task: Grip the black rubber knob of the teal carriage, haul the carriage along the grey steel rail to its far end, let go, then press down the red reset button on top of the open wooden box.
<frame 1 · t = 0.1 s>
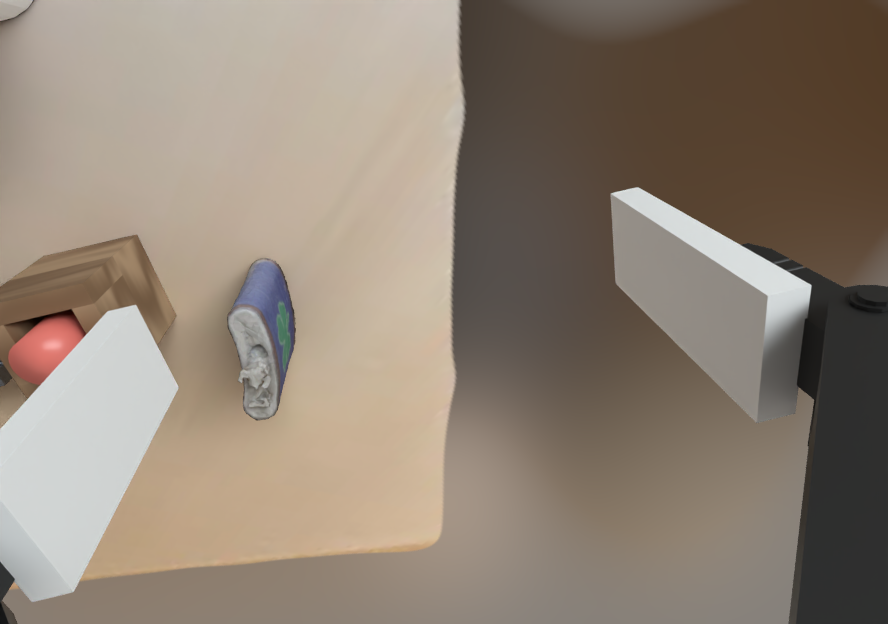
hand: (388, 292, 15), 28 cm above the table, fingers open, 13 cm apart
open wooden box: (112, 287, 43), on the table
reset button: (57, 343, 35), point 9 cm above the table, slide at 0.0 cm
flask: (275, 308, 46), on the table
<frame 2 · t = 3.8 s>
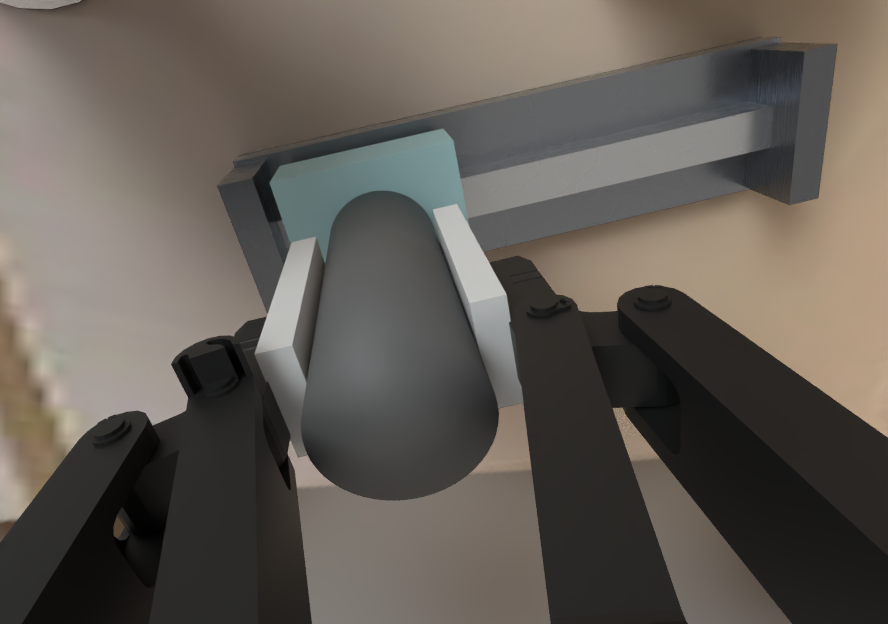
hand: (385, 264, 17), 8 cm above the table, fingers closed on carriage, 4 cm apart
rail track: (513, 167, 24), on the table
carriage: (387, 281, 16), point 9 cm above the table, slide at -6.0 cm, touching gripper
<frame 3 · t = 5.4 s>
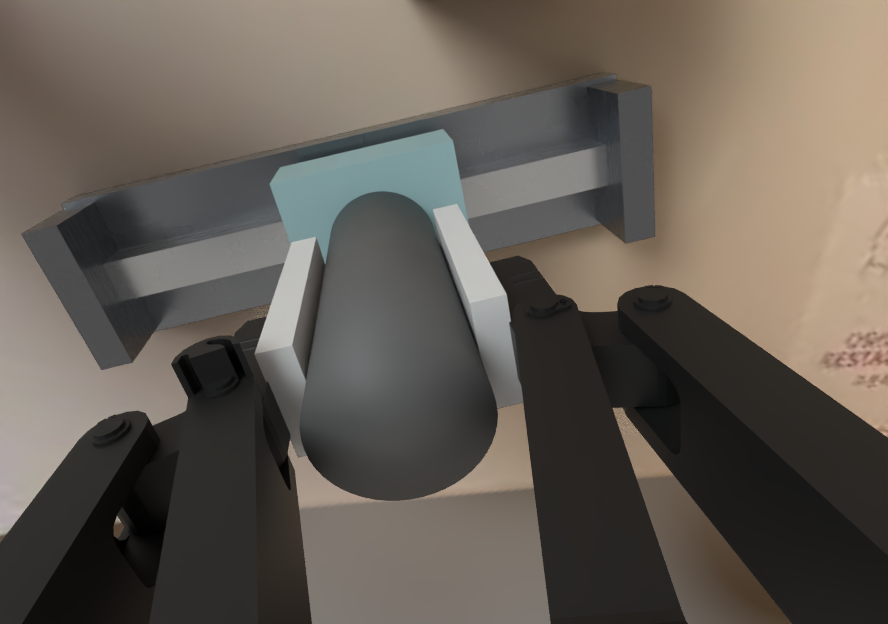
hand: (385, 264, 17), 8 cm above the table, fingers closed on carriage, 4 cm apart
rail track: (362, 203, 24), on the table
carriage: (387, 281, 16), point 9 cm above the table, slide at 0.8 cm, touching gripper
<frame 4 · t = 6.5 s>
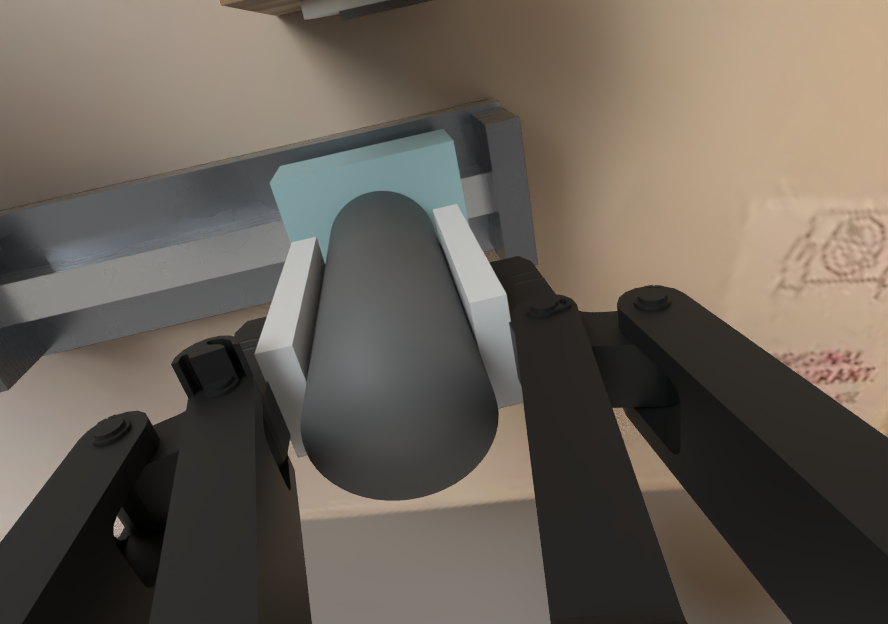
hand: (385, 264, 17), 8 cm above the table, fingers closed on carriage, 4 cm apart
rail track: (254, 228, 24), on the table
carriage: (387, 281, 16), point 9 cm above the table, slide at 5.5 cm, touching gripper
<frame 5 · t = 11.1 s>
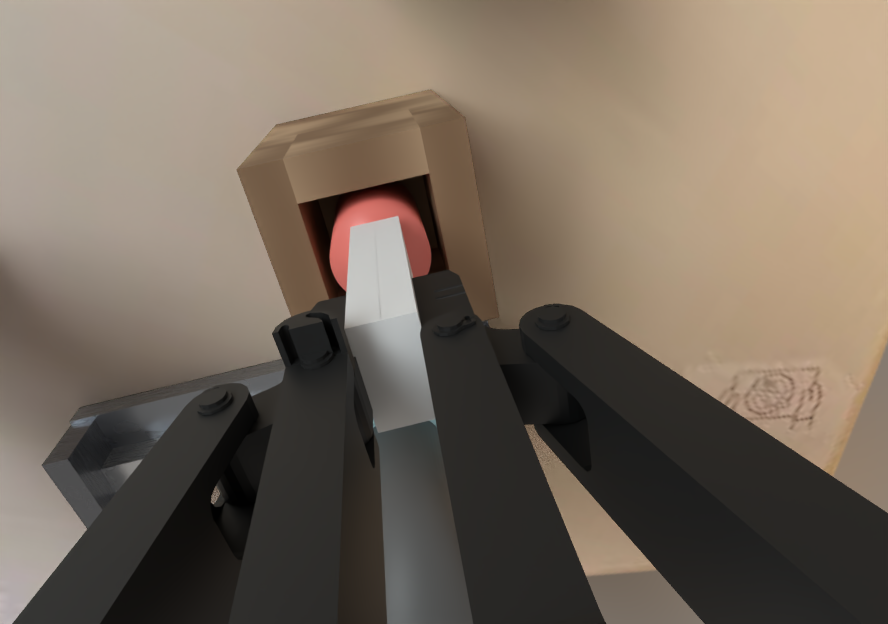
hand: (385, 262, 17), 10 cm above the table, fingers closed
open wooden box: (373, 183, 26), on the table
reset button: (378, 235, 20), point 8 cm above the table, slide at -1.3 cm, touching gripper
rail track: (301, 402, 31), on the table
carriage: (409, 496, 23), point 9 cm above the table, slide at 5.5 cm
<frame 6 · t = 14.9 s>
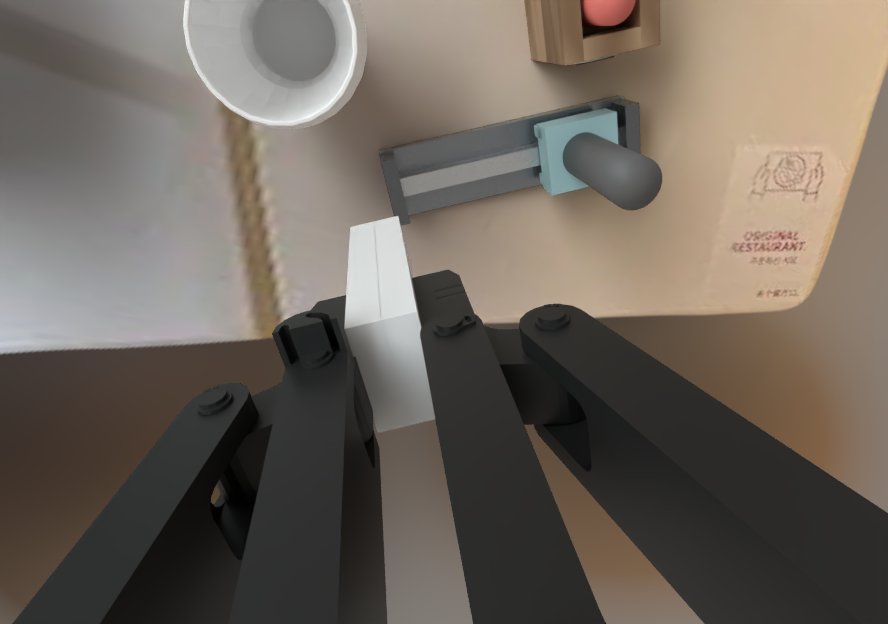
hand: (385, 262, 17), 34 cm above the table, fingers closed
open wooden box: (567, 5, 46), on the table
reset button: (600, 0, 40), point 7 cm above the table, slide at -1.5 cm
cup: (299, 36, 45), on the table
rail track: (504, 156, 51), on the table
carriage: (598, 163, 43), point 9 cm above the table, slide at 5.5 cm
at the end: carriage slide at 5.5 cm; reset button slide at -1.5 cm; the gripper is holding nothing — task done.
